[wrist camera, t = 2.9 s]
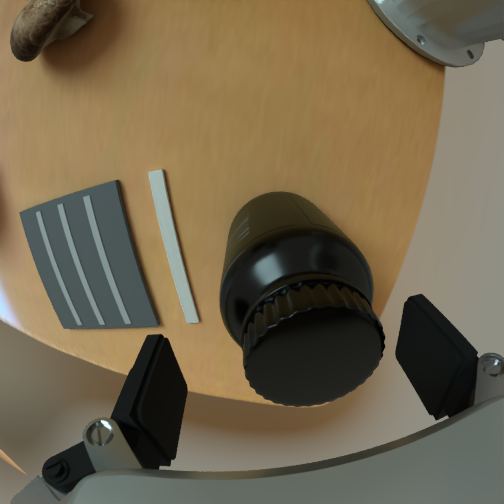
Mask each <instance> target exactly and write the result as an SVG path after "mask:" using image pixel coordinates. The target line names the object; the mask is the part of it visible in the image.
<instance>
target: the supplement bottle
mask: <svg viewBox="0 0 504 504" xmlns="http://www.w3.org/2000/svg"><path fill="white" fill-rule="evenodd" d="M372 300H373V279H372V274H371V270H370V267H369V265H368V263H367V261H366V259H365V257H364V256H363V254H362V253H361V252H360V250H359V249H358V248H357V246H356V245H355V244H354V243H353V242H352V241H351V240H350V239H349V238H348V237H347V236H346V235H345V234H344V233H343V232H342V231H341V230H340V229H339V228H338V227H337V226H336V225H335V224H334V223H333V222H332V221H331V220H330V219H329V218H328V217H327V216H326V215H325V214H324V213H323V212H321V211H320V210H319V209H318V208H317V207H316V206H315V205H314V204H313V203H311V202H310V201H309V200H307V199H305V198H304V197H302V196H299V195H297V194H294V193H289V192H270V193H266V194H263V195H260V196H258V197H256V198H254V199H252V200H251V201H249V202H248V203H247V204H246V205H244V206H243V207H242V208H241V210H240V211H239V212H238V213H237V215H236V216H235V218H234V220H233V222H232V224H231V227H230V231H229V236H228V241H227V247H226V253H225V260H224V266H223V272H222V279H221V286H220V297H219V301H220V313H221V317H222V320H223V323H224V325H225V327H226V329H227V331H228V333H229V334H230V336H231V337H232V339H233V340H234V341H235V342H236V343H237V344H238V345H239V346H240V347H241V348H242V351H243V367H244V369H245V377H246V379H247V380H248V381H249V384H250V387H252V388H253V389H255V391H256V393H257V394H259V395H261V396H263V398H264V399H266V400H271V401H272V402H274V403H277V404H282V405H285V406H295V407H300V406H312V405H321V404H323V403H326V402H330V401H334V400H335V399H337V398H339V397H343V396H345V395H346V394H347V393H349V392H351V391H353V390H355V389H356V388H357V387H358V386H359V385H361V384H363V383H364V382H365V380H366V379H367V378H368V377H370V376H371V375H372V373H373V371H374V370H375V369H376V368H377V367H378V365H379V361H380V360H381V358H382V357H383V350H384V348H385V344H384V340H385V334H384V332H383V327H382V324H381V322H380V321H379V319H378V318H377V316H376V315H375V313H374V312H373V309H372V306H371V305H372Z"/></svg>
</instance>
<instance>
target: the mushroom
mask: <svg viewBox="0 0 504 504" xmlns="http://www.w3.org/2000/svg"><path fill="white" fill-rule="evenodd" d="M93 17H94V14H89V13H86V12H84V11H83V10H82V9H81V8H80V0H28V2H27V3H26V5H25V6H24V8H23V9H22V11H21V12H20V14H19V15H18V17H17V19H16V20H15V22H14V25H13V28H12V32H11V39H10V44H11V49H12V52H13V54H14V56H15V57H16V58H17V59H19V60H21V61H25V62H28V61H32V60H33V59H35V58H36V57H37V56H38V55H39V54H40V52H41V51H42V50H43V49H44V48H45V47H46V46H47V45H48V44H50V43H51V42H53V41H54V40H57V39H60V40H64V39H66V38H68V37H69V36H71V35H73V34H74V33H75V32H76V31H78V30H79V29H80V28H81V27H83V26H84V25H85V24H86V23H87V22H88V21H90V20H91V19H92V18H93Z"/></svg>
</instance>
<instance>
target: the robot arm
mask: <svg viewBox="0 0 504 504" xmlns="http://www.w3.org/2000/svg"><path fill="white" fill-rule="evenodd" d="M367 1H368V2H369V4H370V5H371V7H372V8H373V9H374V11H375V12H376V14H377V15H378V16H379V17H380V18H381V20H382V21H383V22H384V23H385V24H386V26H387V27H389V28H390V29H391V30H392V31H393V32H394V33H395V34H396V35H397V37H399V38H400V39H401V40H402V41H403V42H405V43H406V44H407V45H408V46H409V47H411V48H412V49H414V50H415V51H417V52H418V53H419V54H421V55H422V56H424V57H426V58H428V59H430V60H432V61H433V62H436V63H439V64H441V65H444V66H450V67H464V66H468V65H471V64H473V63H475V62H476V61H478V60H479V58H480V57H481V55H482V53H483V50H484V42H488V41H492V40H497V39H502V40H504V0H367ZM477 354H478V352H477V351H476V349H475V348H474V347H473V346H472V345H471V344H470V343H469V342H468V341H467V339H466V338H465V337H464V336H463V335H462V334H461V333H460V332H459V331H458V330H457V329H456V328H455V327H454V326H453V324H451V322H450V321H449V320H448V319H447V318H446V317H445V316H444V315H443V314H442V313H441V312H440V311H439V310H438V309H437V308H436V307H435V306H434V305H433V304H432V303H431V302H430V301H429V300H428V299H427V298H426V297H425V296H424V295H422V294H419V295H415V296H410V297H409V298H408V299H407V301H406V302H405V303H404V308H403V314H402V320H401V326H400V331H399V336H398V341H397V346H396V351H395V355H396V359H397V361H398V362H399V364H400V365H401V367H402V369H403V370H404V372H405V374H406V375H407V377H408V379H409V380H410V382H411V384H412V385H413V387H414V389H415V390H416V392H417V394H418V395H419V397H420V399H421V401H422V403H423V404H424V406H425V408H426V410H427V411H428V413H429V414H430V415H433V416H434V418H435V420H439V419H441V418H443V417H445V416H447V415H448V417H449V418H448V419H446V420H444V421H442V422H439V423H437V424H435V425H433V426H431V427H428V428H426V429H423V430H421V431H419V432H416V433H414V434H411V435H409V436H406V437H403V438H401V439H398V440H395V441H392V442H389V443H386V444H384V445H380V446H377V447H374V448H371V449H367V450H364V451H360V452H357V453H353V454H349V455H345V456H341V457H337V458H332V459H328V460H323V461H318V462H313V463H307V464H301V465H296V466H288V467H281V468H271V469H262V470H248V471H224V472H198V471H173V470H159V467H160V466H170V465H171V460H174V459H175V458H176V453H177V447H178V441H179V435H180V429H181V424H182V418H183V413H184V407H185V402H186V397H187V391H188V389H187V384H186V382H185V379H184V377H183V374H182V372H181V370H180V367H179V365H178V362H177V360H176V357H175V355H174V352H173V350H172V347H171V345H170V342H169V340H168V338H164V336H163V335H162V334H156V335H147V337H146V339H145V341H144V343H143V345H142V348H141V350H140V352H139V354H138V357H137V359H136V361H135V364H134V366H133V368H132V369H131V370H130V372H129V374H128V376H127V379H126V381H125V383H124V386H123V388H122V391H121V393H120V395H119V398H118V400H117V403H116V405H115V407H114V410H113V412H112V415H111V418H106V417H105V418H104V417H102V418H97V419H94V420H93V421H91V422H89V424H88V425H87V426H86V427H85V429H84V431H83V441H82V442H80V443H79V444H77V445H75V446H73V447H71V448H69V449H67V450H65V451H63V452H61V453H59V454H57V455H55V456H52V457H51V458H49V459H48V460H47V461H46V462H45V463H44V466H43V468H42V475H43V476H42V477H40V476H37V477H36V478H34V479H33V480H32V481H31V482H30V483H29V484H28V485H27V486H26V487H24V488H23V489H22V490H21V491H20V492H19V493H18V494H16V495H15V496H14V497H13V499H12V500H11V504H504V358H503V357H502V356H501V355H499V354H496V353H486V354H484V355H482V356H481V357H480V358H478V357H477Z"/></svg>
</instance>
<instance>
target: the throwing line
mask: <svg viewBox="0 0 504 504" xmlns="http://www.w3.org/2000/svg"><path fill="white" fill-rule="evenodd" d="M148 175H149V180H150V185H151V190H152V195H153V199H154V204H155V208H156V213H157V217H158V221H159V226H160V230H161V234H162V238H163V242H164V246H165V250H166V253H167V257H168V261H169V265H170V268H171V272H172V275H173V279H174V283H175V286H176V289H177V293H178V296H179V299H180V303H181V306H182V309H183V312H184V316H185V319H186V322H187V323H197V322H199V317H198V314H197V310H196V307H195V303H194V300H193V296H192V293H191V289H190V285H189V281H188V278H187V274H186V270H185V266H184V262H183V258H182V254H181V250H180V246H179V242H178V237H177V233H176V229H175V224H174V220H173V215H172V211H171V206H170V201H169V197H168V192H167V187H166V182H165V176H164V171H163V169H160V170H155V171H151V172H148Z"/></svg>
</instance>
